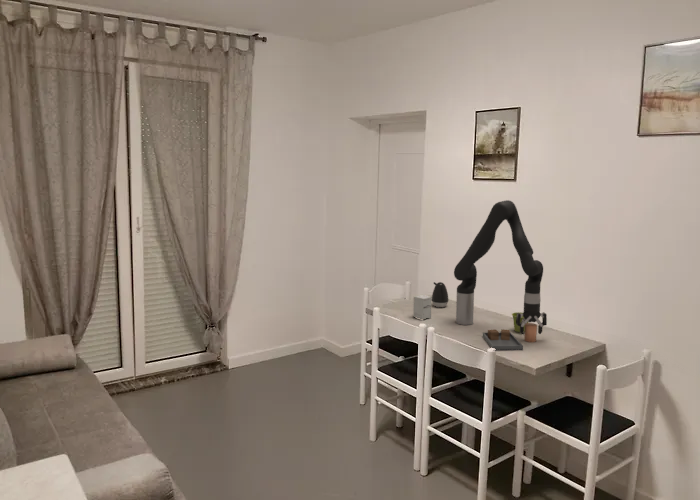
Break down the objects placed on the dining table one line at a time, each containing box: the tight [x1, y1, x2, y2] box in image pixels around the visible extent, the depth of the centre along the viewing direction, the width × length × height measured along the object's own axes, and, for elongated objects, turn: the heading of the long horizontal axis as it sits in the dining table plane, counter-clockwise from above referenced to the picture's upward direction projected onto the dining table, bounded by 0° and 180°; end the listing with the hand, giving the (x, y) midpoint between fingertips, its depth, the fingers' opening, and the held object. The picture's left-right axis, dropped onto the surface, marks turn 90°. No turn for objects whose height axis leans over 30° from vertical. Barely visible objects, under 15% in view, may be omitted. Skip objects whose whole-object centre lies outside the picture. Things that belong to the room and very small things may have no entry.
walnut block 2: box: [500, 328, 511, 340], centre depth 260 cm, size 4×4×4 cm
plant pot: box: [511, 311, 529, 333], centre depth 273 cm, size 9×9×9 cm
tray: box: [481, 331, 524, 351], centre depth 255 cm, size 20×14×2 cm
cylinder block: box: [523, 322, 538, 343], centre depth 259 cm, size 6×6×8 cm
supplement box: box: [412, 294, 432, 319], centre depth 297 cm, size 7×7×13 cm
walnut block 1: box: [487, 329, 500, 340], centre depth 260 cm, size 4×4×4 cm
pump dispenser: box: [431, 281, 449, 308], centre depth 322 cm, size 10×10×15 cm
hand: (530, 333), depth 259 cm, fingers open, 8 cm apart
